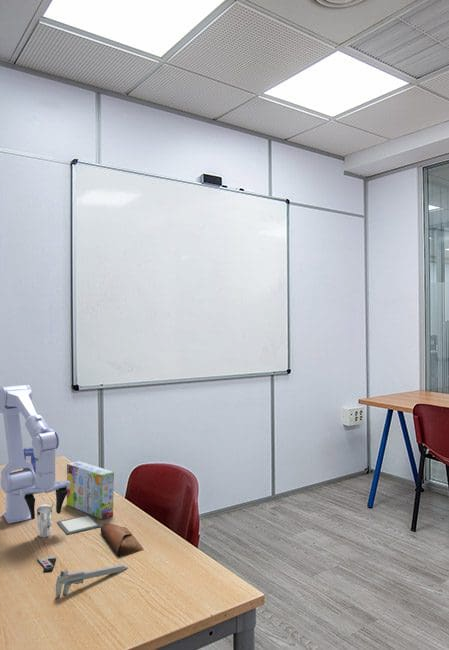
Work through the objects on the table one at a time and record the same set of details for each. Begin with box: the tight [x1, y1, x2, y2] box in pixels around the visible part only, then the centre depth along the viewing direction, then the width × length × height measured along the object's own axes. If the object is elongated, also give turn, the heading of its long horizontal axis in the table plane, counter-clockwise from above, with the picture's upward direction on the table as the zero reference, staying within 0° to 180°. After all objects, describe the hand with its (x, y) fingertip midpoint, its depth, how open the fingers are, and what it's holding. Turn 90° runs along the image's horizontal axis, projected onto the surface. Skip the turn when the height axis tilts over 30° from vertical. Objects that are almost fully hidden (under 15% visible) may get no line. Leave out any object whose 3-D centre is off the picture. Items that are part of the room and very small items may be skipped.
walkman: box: [22, 447, 36, 475], centre depth 214 cm, size 8×3×12 cm, turn 102°
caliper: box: [55, 564, 129, 599], centre depth 128 cm, size 20×1×6 cm, turn 137°
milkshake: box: [36, 503, 54, 538], centre depth 155 cm, size 4×5×10 cm
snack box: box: [66, 460, 115, 520], centre depth 176 cm, size 21×6×15 cm, turn 50°
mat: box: [56, 514, 102, 535], centre depth 163 cm, size 11×11×1 cm
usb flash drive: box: [36, 555, 57, 573], centre depth 137 cm, size 9×5×1 cm, turn 10°
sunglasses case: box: [100, 522, 144, 557], centre depth 151 cm, size 18×7×7 cm
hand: (45, 515), depth 155 cm, fingers open, 7 cm apart
